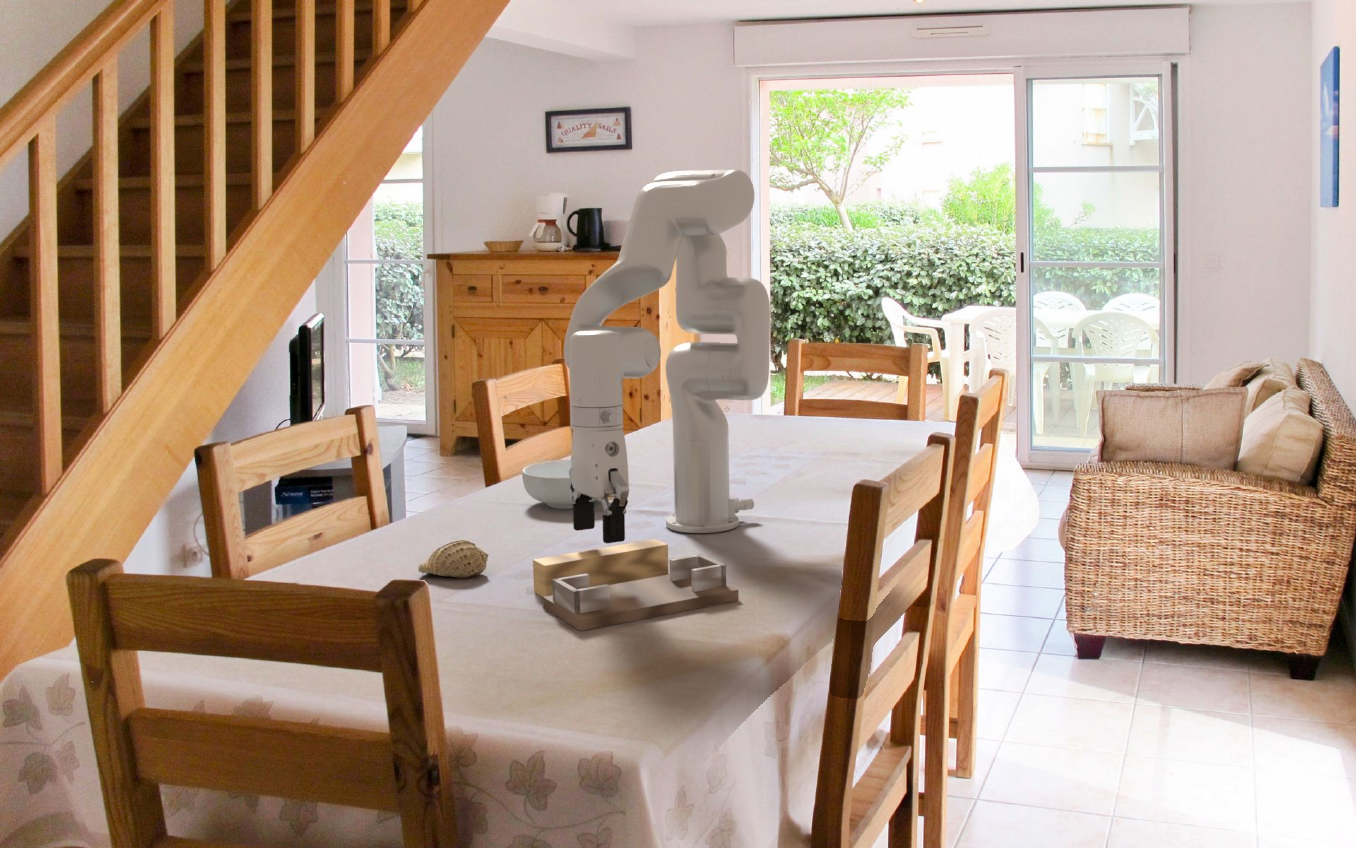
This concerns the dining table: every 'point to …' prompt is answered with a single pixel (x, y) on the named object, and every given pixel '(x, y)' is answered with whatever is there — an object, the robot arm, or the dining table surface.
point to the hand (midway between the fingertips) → (598, 535)
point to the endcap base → (641, 594)
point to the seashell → (456, 560)
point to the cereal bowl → (550, 483)
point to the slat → (603, 565)
